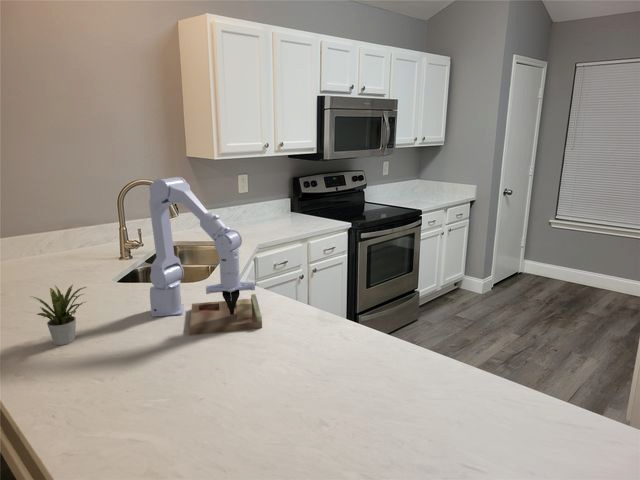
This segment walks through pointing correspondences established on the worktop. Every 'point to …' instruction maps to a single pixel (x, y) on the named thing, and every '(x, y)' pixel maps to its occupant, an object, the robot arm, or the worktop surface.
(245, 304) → the maple block
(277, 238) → the worktop surface
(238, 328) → the trap deck
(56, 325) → the house plant
